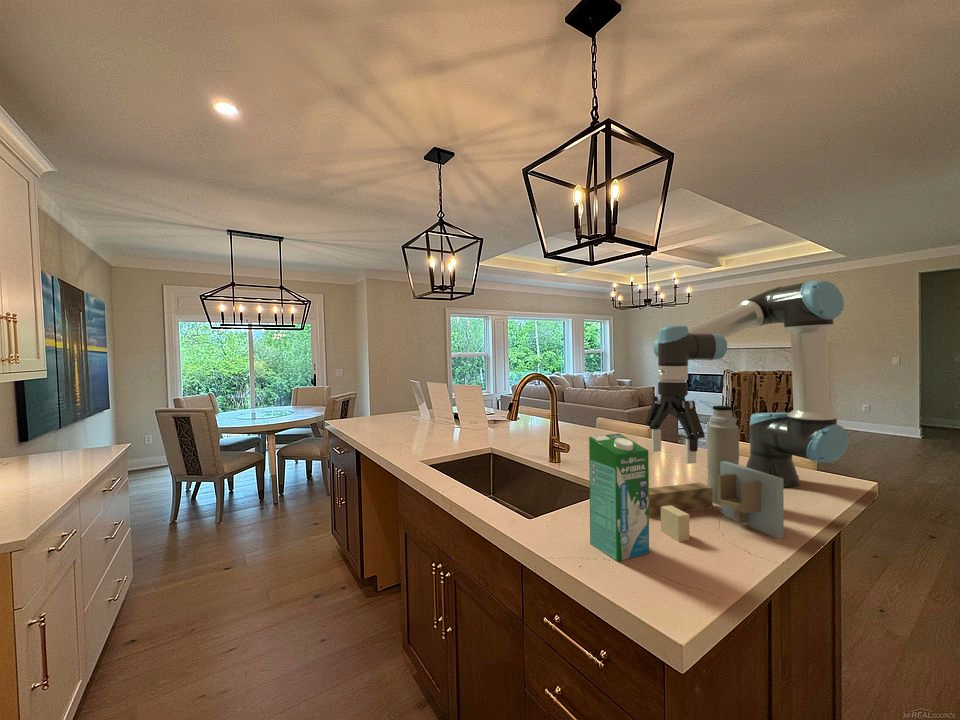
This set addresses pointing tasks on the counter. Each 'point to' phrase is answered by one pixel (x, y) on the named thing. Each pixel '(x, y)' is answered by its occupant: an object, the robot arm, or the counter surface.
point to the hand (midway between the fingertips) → (672, 456)
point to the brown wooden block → (680, 497)
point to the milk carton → (619, 496)
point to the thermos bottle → (721, 444)
